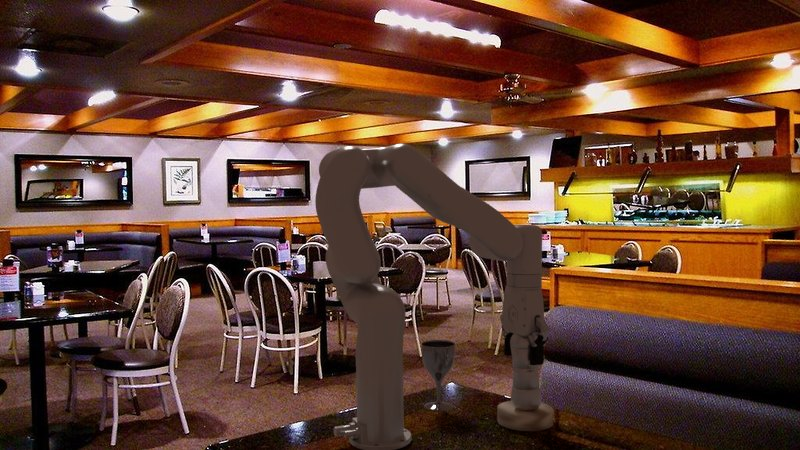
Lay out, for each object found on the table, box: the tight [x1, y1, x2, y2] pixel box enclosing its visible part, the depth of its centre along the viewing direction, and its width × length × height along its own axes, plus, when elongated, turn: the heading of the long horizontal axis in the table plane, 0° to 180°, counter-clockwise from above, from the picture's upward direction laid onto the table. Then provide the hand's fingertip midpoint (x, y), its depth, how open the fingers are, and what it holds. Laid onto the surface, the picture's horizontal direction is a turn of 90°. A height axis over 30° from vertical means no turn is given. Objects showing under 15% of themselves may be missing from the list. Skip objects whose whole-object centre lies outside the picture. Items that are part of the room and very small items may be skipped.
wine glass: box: [421, 339, 456, 412], centre depth 158 cm, size 8×8×15 cm
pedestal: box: [496, 400, 554, 432], centre depth 146 cm, size 12×12×3 cm
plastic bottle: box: [510, 334, 543, 410], centre depth 145 cm, size 6×7×20 cm
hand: (523, 359), depth 146 cm, fingers open, 9 cm apart
